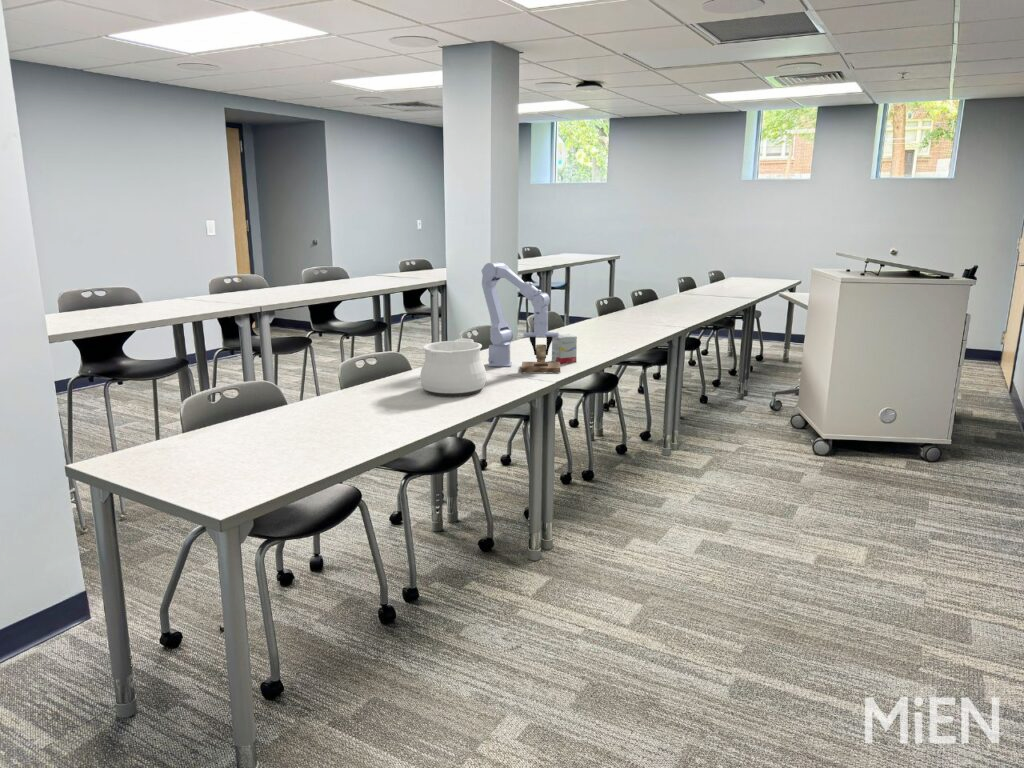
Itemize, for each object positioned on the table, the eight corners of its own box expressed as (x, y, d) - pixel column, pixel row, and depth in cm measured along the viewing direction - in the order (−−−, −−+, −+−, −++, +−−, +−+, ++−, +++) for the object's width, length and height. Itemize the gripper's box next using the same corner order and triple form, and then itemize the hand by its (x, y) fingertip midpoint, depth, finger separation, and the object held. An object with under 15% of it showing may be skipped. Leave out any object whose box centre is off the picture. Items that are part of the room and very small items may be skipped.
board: (521, 372, 295) (521, 368, 295) (522, 366, 308) (522, 361, 308) (560, 372, 295) (560, 368, 294) (559, 366, 307) (559, 361, 307)
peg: (535, 362, 298) (535, 345, 297) (536, 360, 303) (536, 344, 301) (545, 362, 298) (545, 346, 296) (546, 360, 302) (546, 344, 300)
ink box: (577, 362, 315) (577, 335, 312) (559, 364, 312) (559, 337, 309) (568, 359, 323) (568, 333, 320) (551, 360, 320) (551, 334, 317)
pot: (438, 380, 284) (437, 336, 280) (497, 384, 277) (496, 339, 273) (407, 397, 258) (405, 349, 254) (470, 402, 250) (469, 353, 246)
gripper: (523, 324, 293) (523, 356, 296) (558, 323, 292) (558, 356, 296) (523, 321, 300) (524, 353, 303) (558, 321, 299) (558, 353, 302)
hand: (541, 354), depth 300 cm, fingers closed on peg, 4 cm apart
